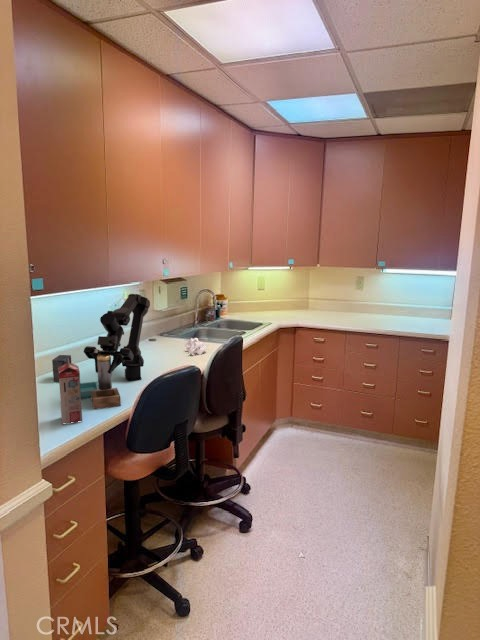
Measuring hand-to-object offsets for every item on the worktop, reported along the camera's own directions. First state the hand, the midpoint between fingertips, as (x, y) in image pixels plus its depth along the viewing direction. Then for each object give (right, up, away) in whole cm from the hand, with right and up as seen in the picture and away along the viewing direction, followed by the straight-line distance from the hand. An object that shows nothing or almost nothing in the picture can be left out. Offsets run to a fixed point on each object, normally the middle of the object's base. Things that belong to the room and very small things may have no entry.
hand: (103, 372), depth 167 cm
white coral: (+28, +1, +78) cm, 83 cm away
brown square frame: (0, -12, +4) cm, 13 cm away
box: (-27, -7, +30) cm, 41 cm away
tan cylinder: (0, -6, +3) cm, 7 cm away
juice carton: (-7, -16, -12) cm, 21 cm away
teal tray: (-12, -10, +13) cm, 20 cm away
